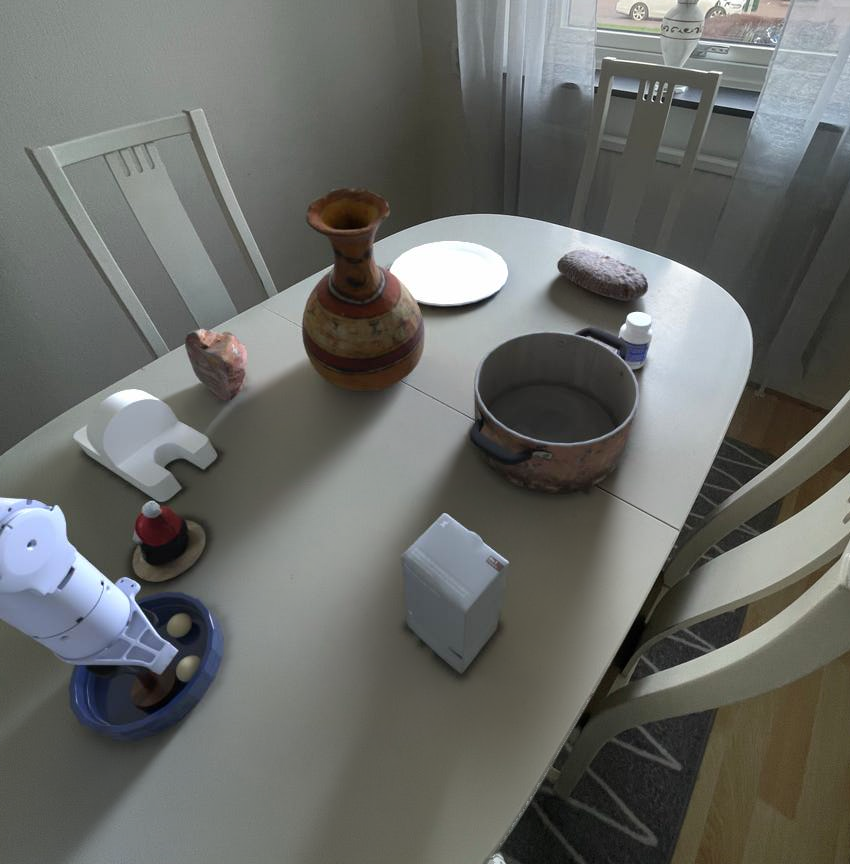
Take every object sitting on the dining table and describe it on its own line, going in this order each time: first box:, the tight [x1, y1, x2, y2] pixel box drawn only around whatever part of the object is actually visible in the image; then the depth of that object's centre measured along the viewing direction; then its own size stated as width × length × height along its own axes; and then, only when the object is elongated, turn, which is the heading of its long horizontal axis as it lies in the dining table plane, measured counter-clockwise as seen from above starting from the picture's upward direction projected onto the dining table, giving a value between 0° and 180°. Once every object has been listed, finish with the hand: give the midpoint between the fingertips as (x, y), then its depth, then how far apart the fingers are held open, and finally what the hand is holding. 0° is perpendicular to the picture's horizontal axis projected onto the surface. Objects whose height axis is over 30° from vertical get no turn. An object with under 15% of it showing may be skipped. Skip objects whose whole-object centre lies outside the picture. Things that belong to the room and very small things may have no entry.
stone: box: [184, 328, 248, 402], centre depth 83 cm, size 13×8×10 cm
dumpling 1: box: [167, 613, 192, 638], centre depth 56 cm, size 2×2×2 cm
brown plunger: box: [130, 666, 178, 711], centre depth 50 cm, size 4×4×10 cm
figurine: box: [132, 500, 206, 583], centre depth 62 cm, size 8×10×12 cm
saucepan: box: [469, 326, 640, 494], centre depth 74 cm, size 30×22×11 cm
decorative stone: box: [556, 249, 649, 301], centre depth 105 cm, size 20×14×5 cm
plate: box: [389, 240, 509, 308], centre depth 109 cm, size 25×25×1 cm
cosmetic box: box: [400, 513, 510, 674], centre depth 52 cm, size 8×7×16 cm
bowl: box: [68, 591, 224, 742], centre depth 54 cm, size 13×13×4 cm
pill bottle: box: [614, 311, 653, 370], centre depth 87 cm, size 5×5×9 cm
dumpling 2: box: [176, 655, 201, 682], centre depth 53 cm, size 2×2×2 cm
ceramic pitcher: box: [301, 187, 425, 392], centre depth 79 cm, size 20×20×30 cm
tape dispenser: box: [73, 389, 218, 503], centre depth 72 cm, size 10×18×11 cm, turn 60°
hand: (142, 660), depth 50 cm, fingers closed on brown plunger
